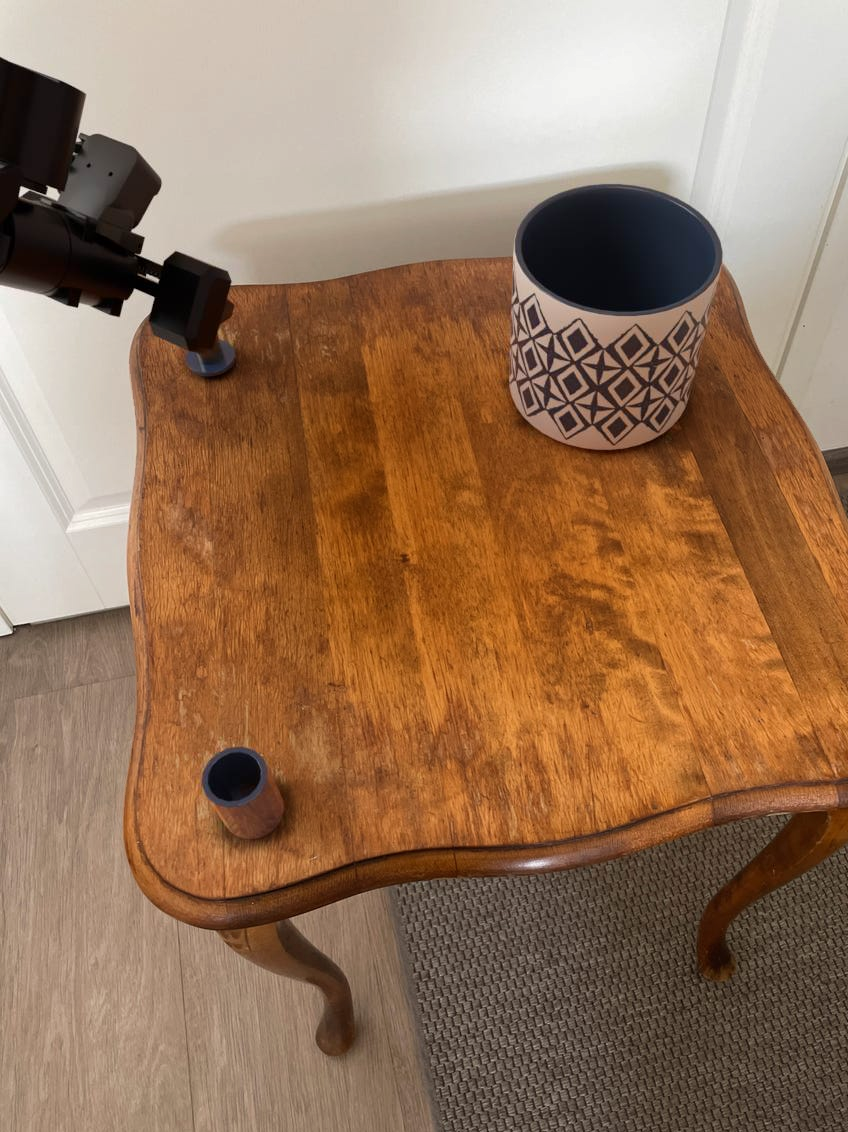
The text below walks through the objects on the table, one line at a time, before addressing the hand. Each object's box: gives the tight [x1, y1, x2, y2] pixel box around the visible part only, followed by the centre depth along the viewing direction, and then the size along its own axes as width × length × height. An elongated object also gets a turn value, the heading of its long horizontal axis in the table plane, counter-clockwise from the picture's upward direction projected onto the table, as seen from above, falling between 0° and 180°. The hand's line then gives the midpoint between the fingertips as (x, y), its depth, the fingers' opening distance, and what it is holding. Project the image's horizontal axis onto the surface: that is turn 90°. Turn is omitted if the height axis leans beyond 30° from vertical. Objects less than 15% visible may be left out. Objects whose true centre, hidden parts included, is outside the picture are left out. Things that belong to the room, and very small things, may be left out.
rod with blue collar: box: [185, 332, 237, 377], centre depth 80 cm, size 4×4×10 cm
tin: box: [201, 746, 285, 840], centre depth 60 cm, size 4×4×6 cm
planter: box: [508, 183, 724, 451], centre depth 77 cm, size 16×16×14 cm
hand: (187, 291), depth 78 cm, fingers open, 9 cm apart
